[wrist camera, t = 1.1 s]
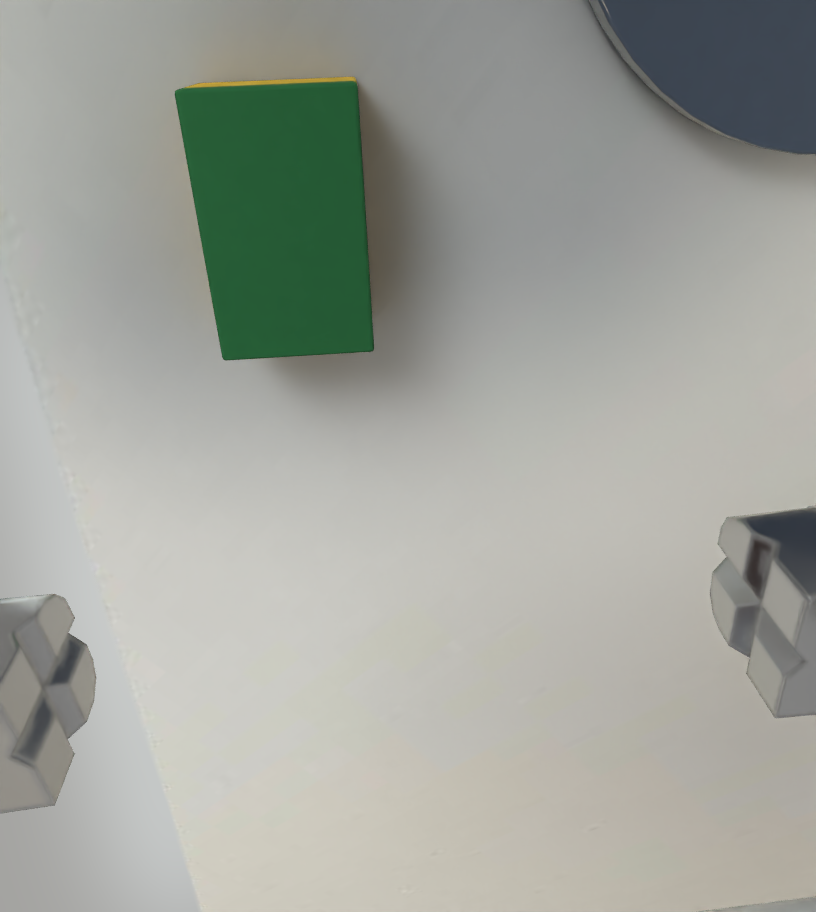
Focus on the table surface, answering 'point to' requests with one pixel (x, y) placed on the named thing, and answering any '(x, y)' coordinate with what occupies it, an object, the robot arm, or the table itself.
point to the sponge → (281, 214)
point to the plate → (726, 63)
